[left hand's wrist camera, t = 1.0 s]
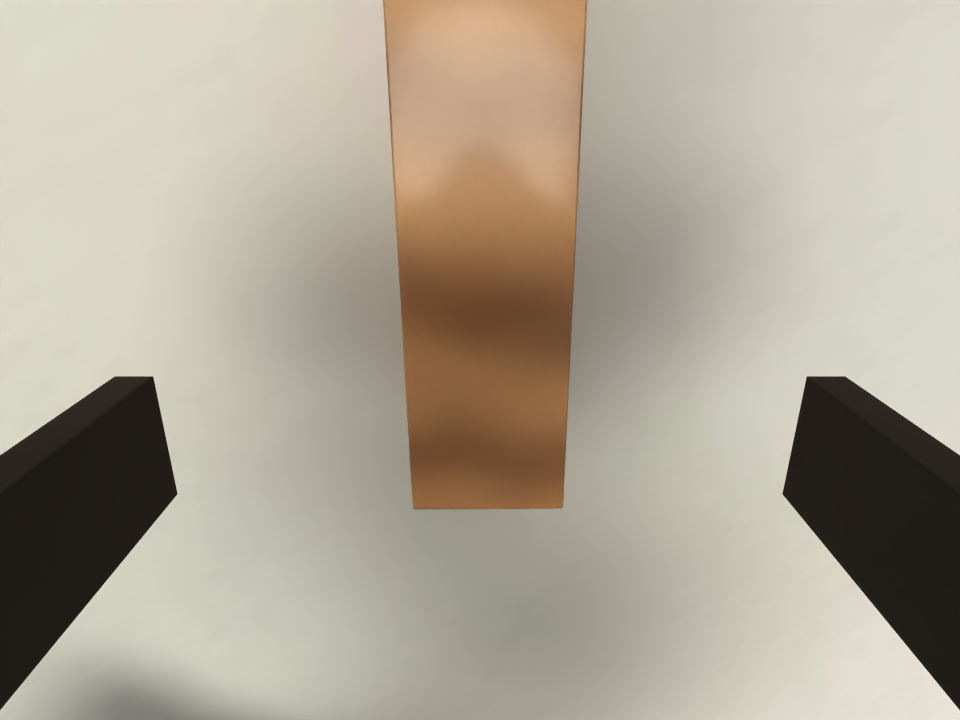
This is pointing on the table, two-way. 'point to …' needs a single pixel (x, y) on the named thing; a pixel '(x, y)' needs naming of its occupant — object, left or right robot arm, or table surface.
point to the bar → (486, 241)
